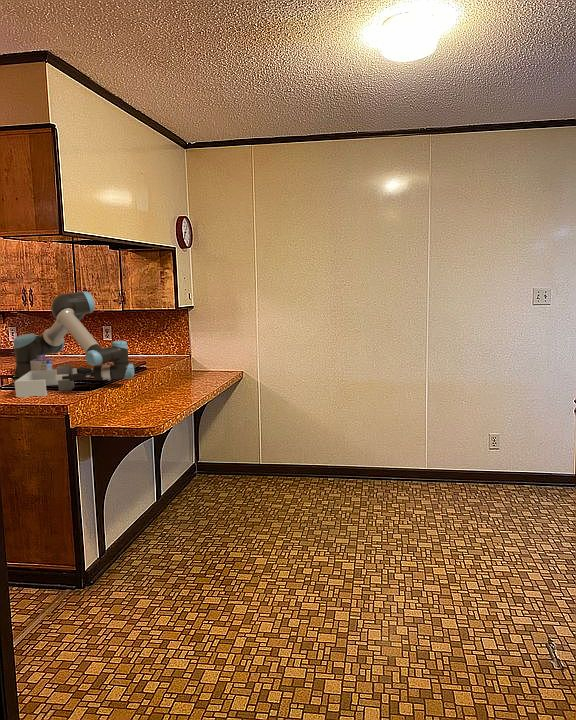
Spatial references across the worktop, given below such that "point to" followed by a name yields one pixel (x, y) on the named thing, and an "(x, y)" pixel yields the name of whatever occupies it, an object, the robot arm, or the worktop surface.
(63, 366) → the dark grey block
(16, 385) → the open side box
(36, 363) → the ink cartridge box
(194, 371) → the worktop surface
